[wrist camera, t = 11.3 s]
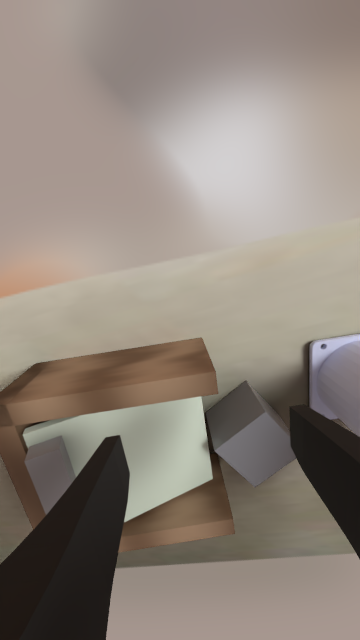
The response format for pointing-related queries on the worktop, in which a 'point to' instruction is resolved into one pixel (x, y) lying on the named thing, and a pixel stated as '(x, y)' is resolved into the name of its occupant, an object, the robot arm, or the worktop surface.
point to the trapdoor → (139, 446)
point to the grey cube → (249, 434)
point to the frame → (112, 394)
